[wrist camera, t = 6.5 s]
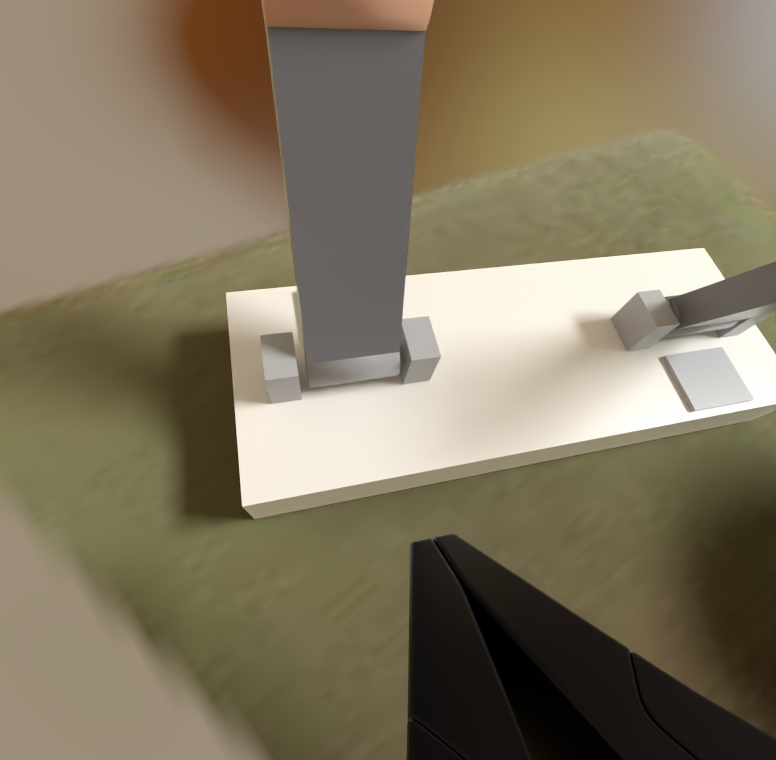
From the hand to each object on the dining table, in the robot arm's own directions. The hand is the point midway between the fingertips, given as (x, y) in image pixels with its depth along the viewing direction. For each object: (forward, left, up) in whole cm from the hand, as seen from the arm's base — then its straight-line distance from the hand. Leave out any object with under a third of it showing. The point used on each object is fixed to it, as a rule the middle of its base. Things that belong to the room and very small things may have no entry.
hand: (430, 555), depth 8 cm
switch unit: (0, -10, -8) cm, 12 cm away
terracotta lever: (+5, -4, -4) cm, 8 cm away
